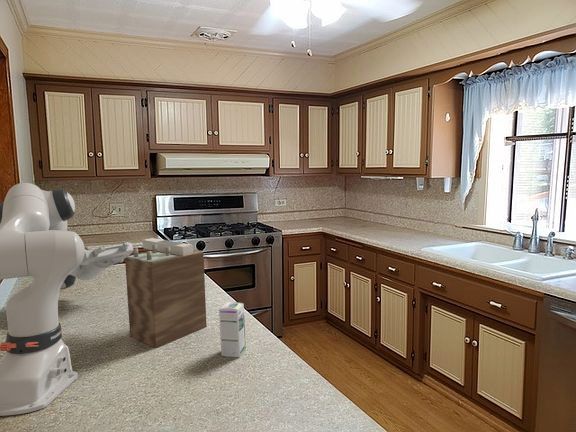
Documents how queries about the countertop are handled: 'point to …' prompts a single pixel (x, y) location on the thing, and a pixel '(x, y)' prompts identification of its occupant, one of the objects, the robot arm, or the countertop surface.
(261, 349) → the countertop surface
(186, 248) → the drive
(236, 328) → the syrup box
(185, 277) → the wooden peg block
